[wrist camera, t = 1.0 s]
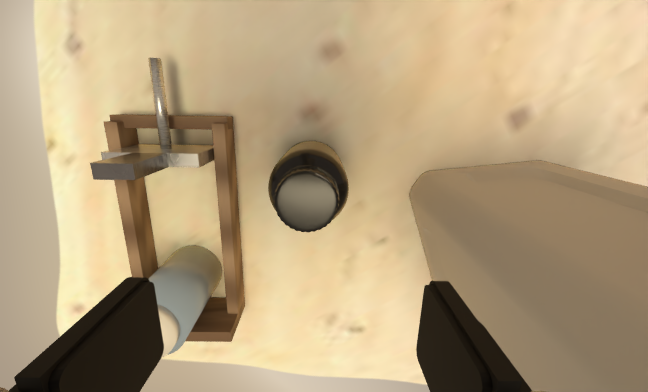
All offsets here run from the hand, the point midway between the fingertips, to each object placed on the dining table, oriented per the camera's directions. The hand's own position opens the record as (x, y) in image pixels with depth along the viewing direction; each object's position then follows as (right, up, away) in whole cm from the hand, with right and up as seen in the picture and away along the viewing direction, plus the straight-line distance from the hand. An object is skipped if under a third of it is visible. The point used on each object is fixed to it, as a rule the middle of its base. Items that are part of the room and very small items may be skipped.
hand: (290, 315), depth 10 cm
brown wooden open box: (-14, +1, +24) cm, 28 cm away
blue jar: (-14, -5, +26) cm, 30 cm away
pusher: (-14, +13, +21) cm, 28 cm away
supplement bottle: (0, +7, +23) cm, 24 cm away
